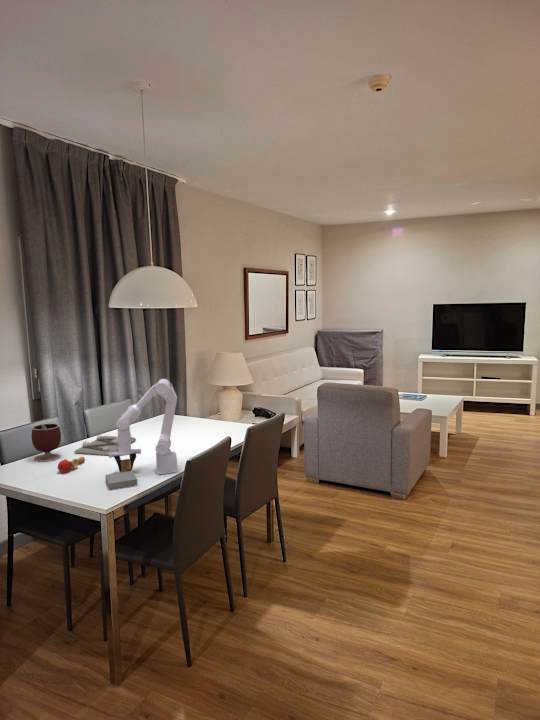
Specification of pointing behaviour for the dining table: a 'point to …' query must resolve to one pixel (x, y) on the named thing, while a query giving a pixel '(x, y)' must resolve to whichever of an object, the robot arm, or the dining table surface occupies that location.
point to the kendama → (69, 464)
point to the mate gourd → (46, 441)
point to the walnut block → (125, 465)
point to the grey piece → (101, 446)
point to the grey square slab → (121, 480)
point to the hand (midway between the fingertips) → (125, 470)
